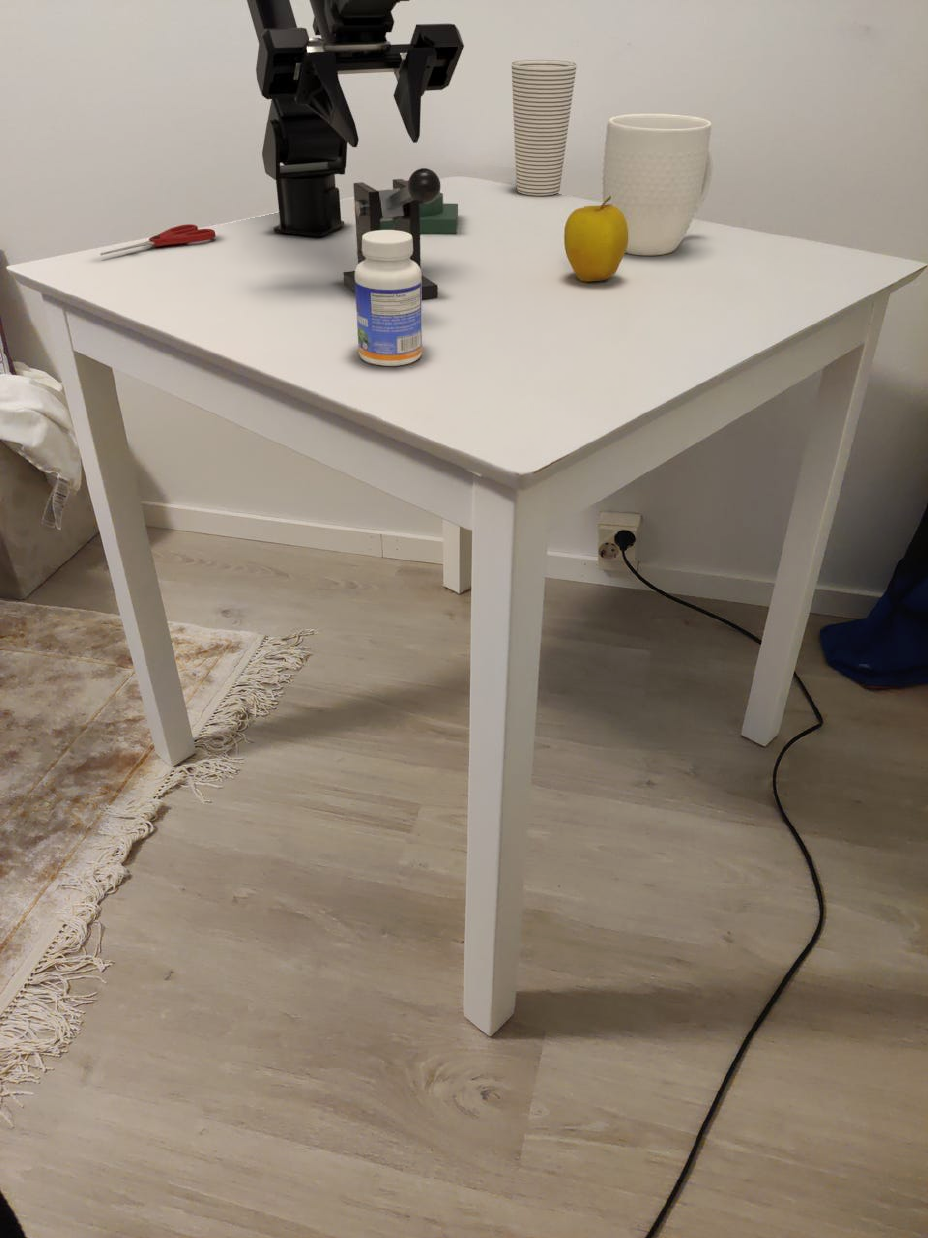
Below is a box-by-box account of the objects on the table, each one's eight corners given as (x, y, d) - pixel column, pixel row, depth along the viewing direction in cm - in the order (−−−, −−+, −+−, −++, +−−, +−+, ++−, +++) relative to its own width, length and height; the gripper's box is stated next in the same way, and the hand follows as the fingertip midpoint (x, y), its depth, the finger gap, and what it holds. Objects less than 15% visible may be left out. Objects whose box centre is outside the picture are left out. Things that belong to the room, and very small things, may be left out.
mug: (662, 226, 117) (677, 106, 109) (735, 245, 110) (756, 118, 102) (576, 246, 109) (585, 118, 102) (648, 267, 102) (664, 132, 95)
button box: (372, 232, 114) (371, 201, 112) (379, 216, 120) (377, 187, 118) (456, 233, 114) (456, 202, 112) (458, 217, 120) (458, 187, 118)
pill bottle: (359, 345, 82) (352, 227, 77) (421, 343, 83) (419, 226, 77) (358, 368, 78) (351, 244, 72) (424, 366, 78) (422, 243, 73)
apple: (630, 275, 100) (639, 193, 95) (612, 291, 95) (620, 206, 91) (573, 267, 102) (579, 187, 98) (552, 283, 97) (557, 200, 93)
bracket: (437, 297, 94) (436, 190, 88) (371, 306, 91) (365, 196, 85) (407, 275, 99) (404, 174, 94) (343, 283, 97) (336, 179, 91)
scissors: (219, 238, 111) (218, 229, 110) (115, 263, 102) (114, 253, 101) (190, 230, 114) (189, 221, 113) (87, 254, 105) (85, 245, 104)
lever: (447, 199, 81) (442, 163, 81) (417, 202, 80) (412, 166, 80) (397, 221, 93) (393, 190, 92) (370, 224, 92) (365, 193, 91)
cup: (503, 196, 130) (507, 65, 121) (511, 183, 137) (515, 58, 128) (565, 199, 129) (574, 67, 120) (570, 186, 136) (578, 60, 127)
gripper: (247, -88, 78) (300, 82, 76) (455, -85, 84) (508, 72, 82) (237, 20, 88) (283, 171, 86) (422, 15, 95) (469, 156, 93)
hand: (386, 141), depth 87 cm, fingers open, 6 cm apart
